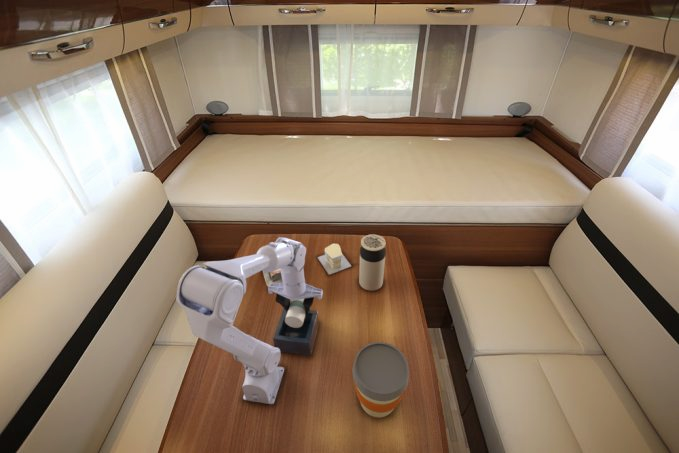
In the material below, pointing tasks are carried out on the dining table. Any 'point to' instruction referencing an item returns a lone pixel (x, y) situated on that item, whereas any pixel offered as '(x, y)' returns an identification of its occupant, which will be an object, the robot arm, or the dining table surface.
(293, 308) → the paper roll
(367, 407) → the reusable coffee cup
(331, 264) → the stacked layers on plate
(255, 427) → the dining table surface
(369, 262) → the travel mug
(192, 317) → the robot arm
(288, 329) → the open box
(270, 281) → the packaged product
